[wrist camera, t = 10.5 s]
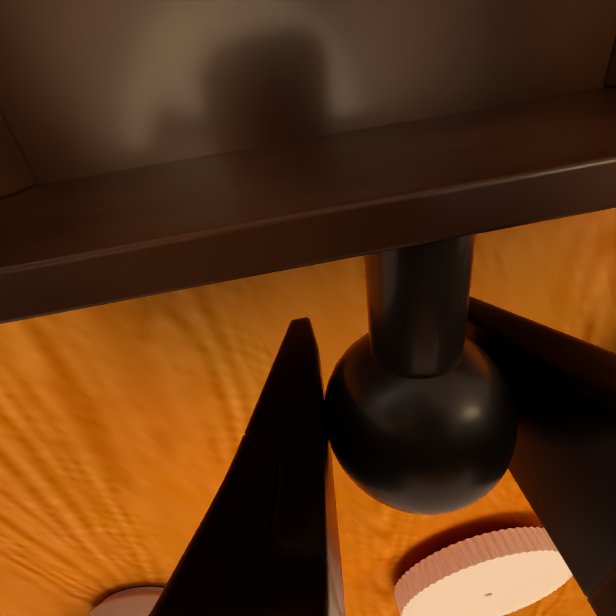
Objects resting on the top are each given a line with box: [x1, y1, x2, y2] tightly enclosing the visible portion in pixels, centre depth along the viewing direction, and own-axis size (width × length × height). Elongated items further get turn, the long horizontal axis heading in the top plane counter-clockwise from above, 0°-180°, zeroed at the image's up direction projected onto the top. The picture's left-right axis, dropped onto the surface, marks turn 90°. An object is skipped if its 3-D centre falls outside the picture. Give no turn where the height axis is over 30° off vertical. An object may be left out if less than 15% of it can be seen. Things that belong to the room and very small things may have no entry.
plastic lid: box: [394, 527, 572, 616], centre depth 29 cm, size 14×14×2 cm
